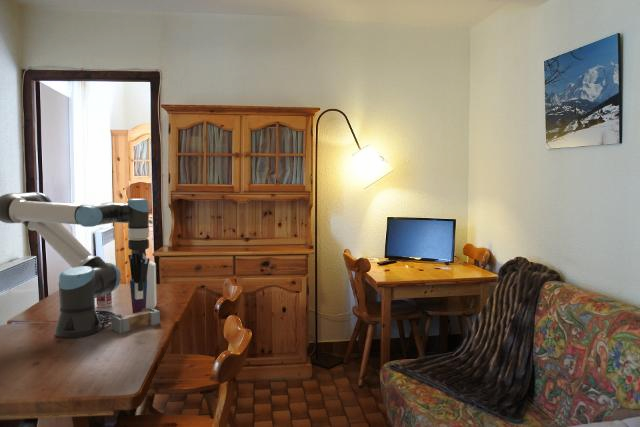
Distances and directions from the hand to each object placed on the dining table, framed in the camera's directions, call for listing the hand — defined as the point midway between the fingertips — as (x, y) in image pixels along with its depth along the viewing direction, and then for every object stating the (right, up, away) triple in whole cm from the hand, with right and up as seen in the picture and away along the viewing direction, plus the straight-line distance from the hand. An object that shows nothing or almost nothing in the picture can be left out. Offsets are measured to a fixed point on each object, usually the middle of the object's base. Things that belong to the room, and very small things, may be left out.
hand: (138, 298), depth 194 cm
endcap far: (+4, -10, +3) cm, 11 cm away
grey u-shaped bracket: (-5, -11, -6) cm, 13 cm away
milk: (-5, -8, +26) cm, 27 cm away
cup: (-5, -9, +13) cm, 17 cm away
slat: (0, -11, -2) cm, 11 cm away
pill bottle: (-25, -8, +26) cm, 37 cm away
